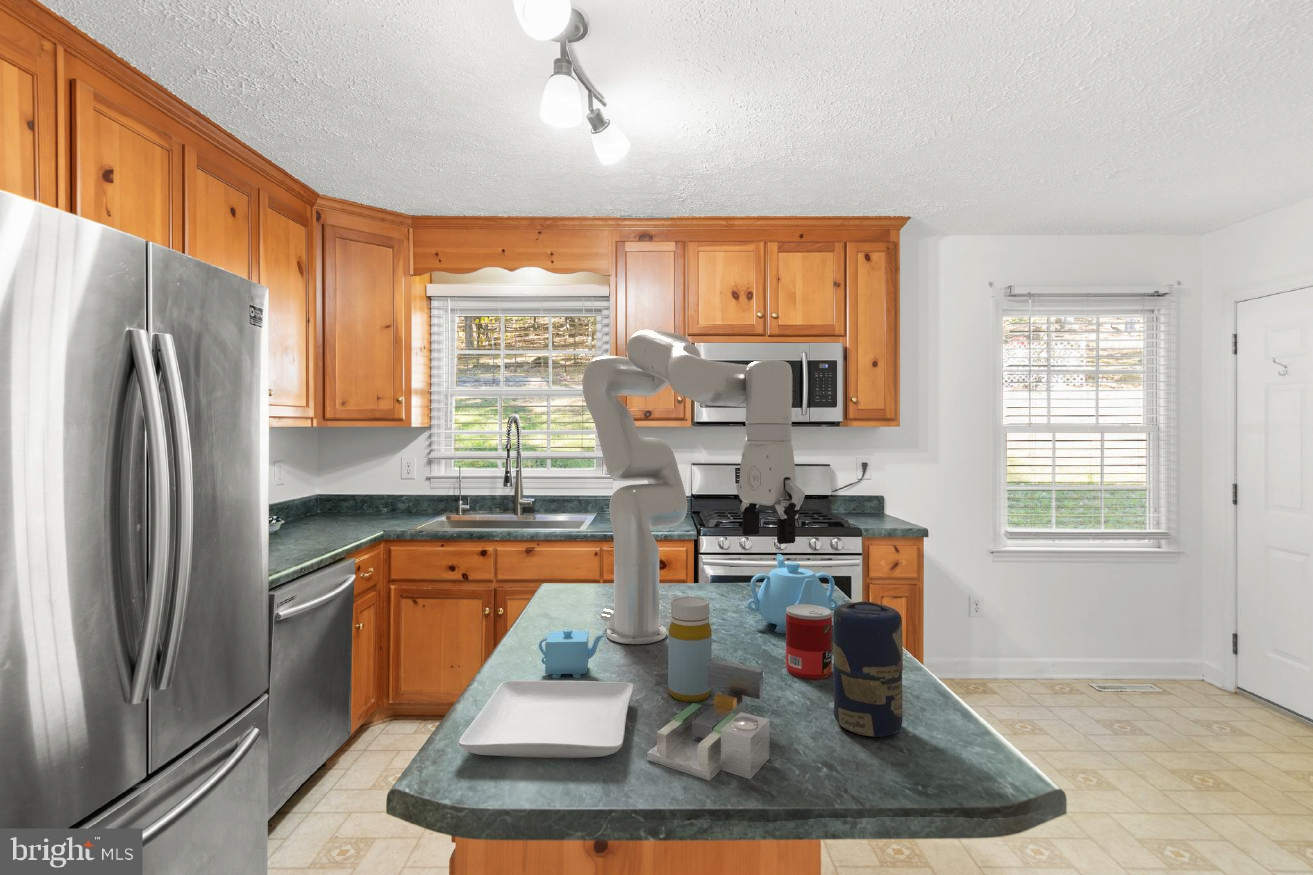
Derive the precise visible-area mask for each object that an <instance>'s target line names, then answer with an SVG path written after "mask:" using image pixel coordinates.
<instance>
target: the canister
mask: <svg viewBox="0 0 1313 875" xmlns="http://www.w3.org/2000/svg"><path fill="white" fill-rule="evenodd" d="M902 618H903V617H902V616H901V613H900V612H899V611H898V610H897V609H895V608H892V606H888V605H886V604H881V603H877V602H873V601H869V600H863V601H856V602H855V601H854V602H846V603H842V604H840V605H839V604H838V607H836V608H835V610H833V613H832V652H833V662H832V670H833V671H832V672H833V676H832V677H833V678H832V679H833V680H832V681H833V683H832V684H833V685H832V686H833V716H834V719H835V720H836V722H837V723H838V724H839V725H840V726H841V727H842V728H844V729H846V730H848V731H850V732H851V733H854V734H857V735H861V736H865V737H866V736H867V737H874V738H875V737H886V736H891V735H894V734H895V733H897V732H899V731H900V730H901V727H902V726H903V712H904V711H903V709H904V708H903V671H904V668H903V667H904V666H903V665H904V664H903V659H904V658H903V653H904V652H903V650H904V649H903V644H904V643H903V620H902Z"/></svg>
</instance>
